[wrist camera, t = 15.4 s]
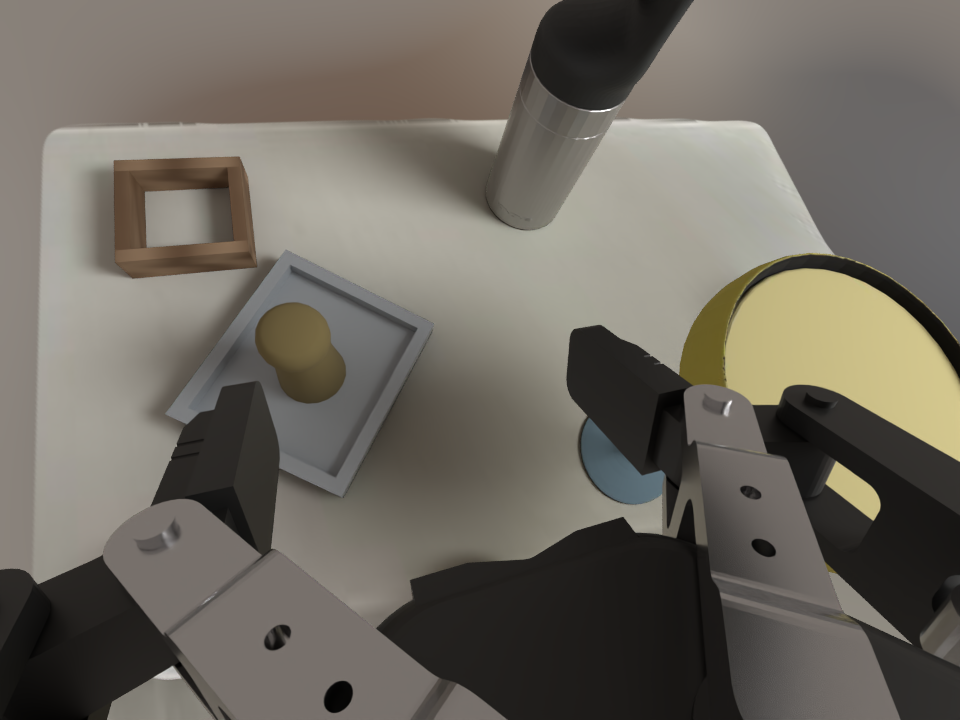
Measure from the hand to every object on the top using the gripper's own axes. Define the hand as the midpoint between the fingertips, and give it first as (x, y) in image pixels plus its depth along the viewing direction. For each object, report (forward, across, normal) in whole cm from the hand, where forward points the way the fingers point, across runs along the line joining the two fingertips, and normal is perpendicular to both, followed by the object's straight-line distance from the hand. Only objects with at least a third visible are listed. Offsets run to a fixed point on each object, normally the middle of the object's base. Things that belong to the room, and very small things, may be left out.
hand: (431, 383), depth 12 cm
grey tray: (+30, +6, +15) cm, 35 cm away
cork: (+29, +6, +15) cm, 33 cm away
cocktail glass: (+20, -24, +26) cm, 41 cm away
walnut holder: (+43, +15, +3) cm, 45 cm away
